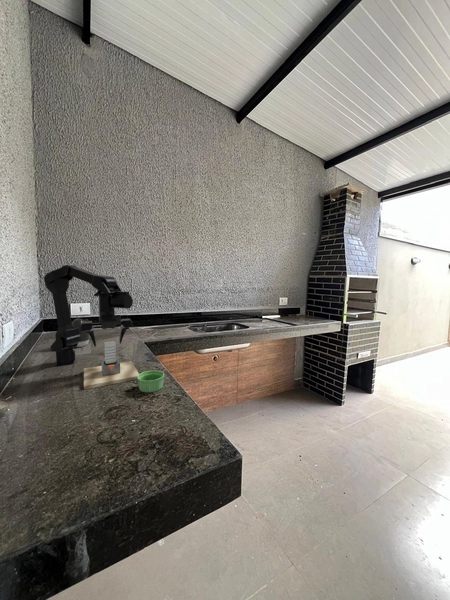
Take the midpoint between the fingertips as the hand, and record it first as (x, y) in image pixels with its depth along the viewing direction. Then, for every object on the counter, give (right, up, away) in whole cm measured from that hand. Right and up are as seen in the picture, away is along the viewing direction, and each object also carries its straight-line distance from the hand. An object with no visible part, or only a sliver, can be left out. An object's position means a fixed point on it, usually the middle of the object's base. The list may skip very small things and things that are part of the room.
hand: (108, 345), depth 98 cm
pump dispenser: (-31, -7, +32) cm, 46 cm away
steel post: (+4, -5, -6) cm, 9 cm away
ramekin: (+23, -12, -16) cm, 30 cm away
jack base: (+4, -11, -6) cm, 13 cm away
